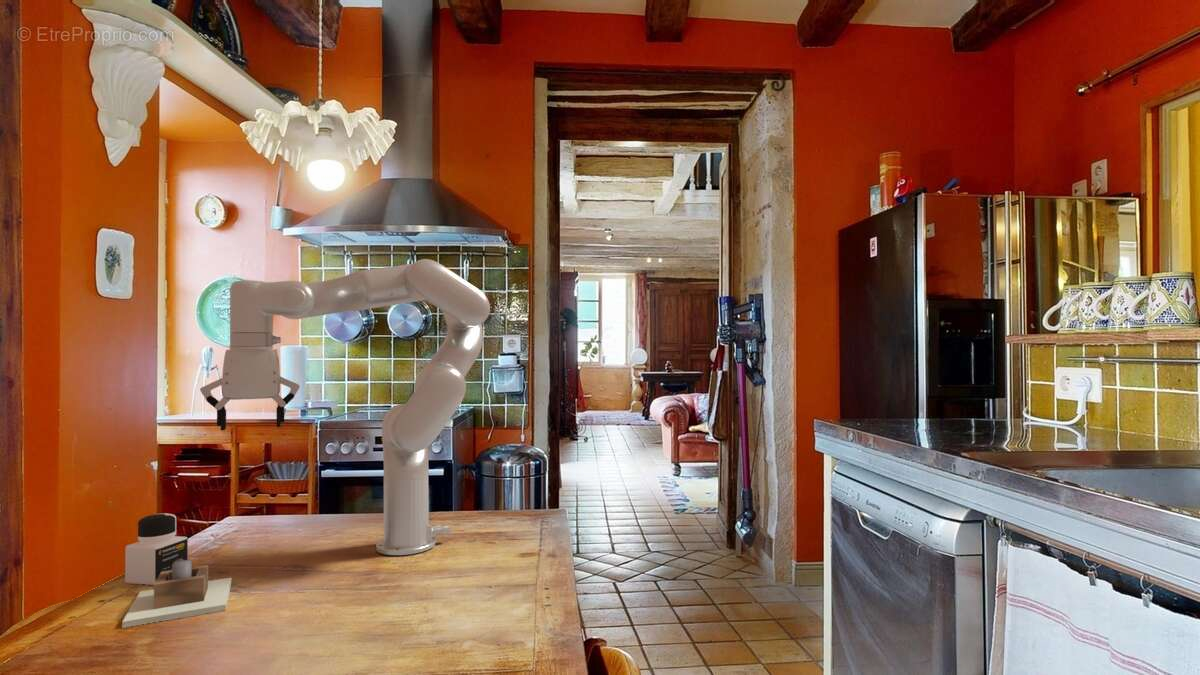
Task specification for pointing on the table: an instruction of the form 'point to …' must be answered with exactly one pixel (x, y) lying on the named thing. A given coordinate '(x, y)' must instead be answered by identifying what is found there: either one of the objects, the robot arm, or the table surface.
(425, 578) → the table surface
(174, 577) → the post stand
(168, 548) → the medicine bottle
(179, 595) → the walnut ring
